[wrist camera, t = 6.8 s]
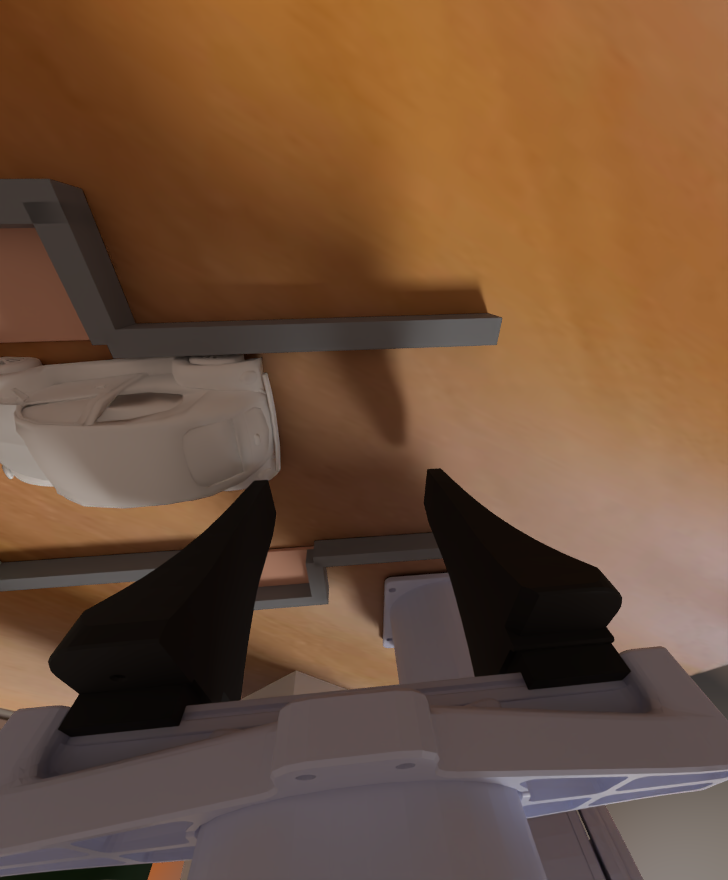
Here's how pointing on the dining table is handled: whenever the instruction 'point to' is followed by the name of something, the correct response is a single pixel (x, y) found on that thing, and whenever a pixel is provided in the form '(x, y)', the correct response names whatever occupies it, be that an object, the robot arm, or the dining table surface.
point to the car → (138, 427)
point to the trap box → (111, 323)
